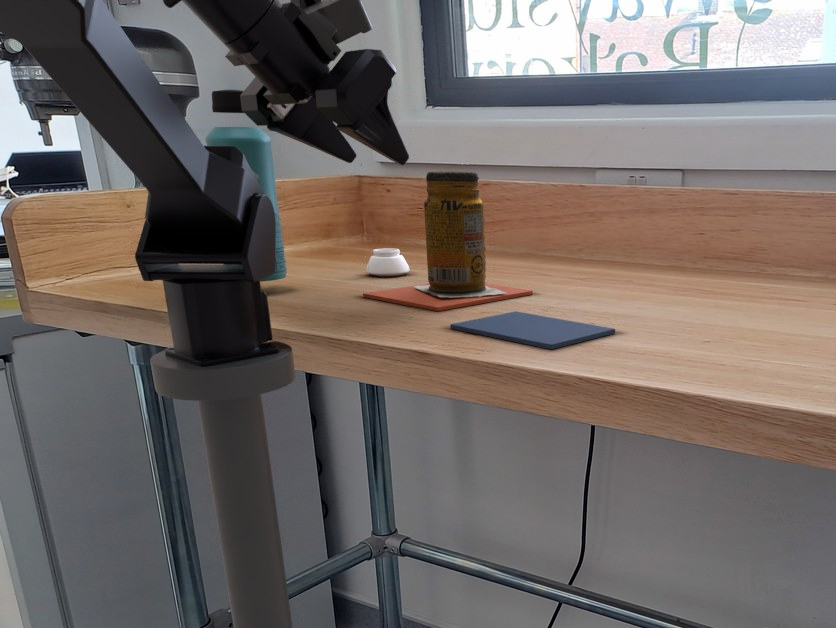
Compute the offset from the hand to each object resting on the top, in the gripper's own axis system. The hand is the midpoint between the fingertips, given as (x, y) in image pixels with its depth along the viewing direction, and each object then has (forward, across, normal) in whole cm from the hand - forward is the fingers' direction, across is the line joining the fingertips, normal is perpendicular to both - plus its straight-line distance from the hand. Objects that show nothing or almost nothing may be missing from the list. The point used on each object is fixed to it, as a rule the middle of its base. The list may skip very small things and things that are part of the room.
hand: (378, 160), depth 81 cm
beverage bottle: (+5, +16, +14) cm, 22 cm away
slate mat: (+11, -20, +8) cm, 24 cm away
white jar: (+17, +17, +2) cm, 25 cm away
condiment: (+15, -1, +4) cm, 16 cm away
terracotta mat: (+15, 0, +5) cm, 15 cm away
